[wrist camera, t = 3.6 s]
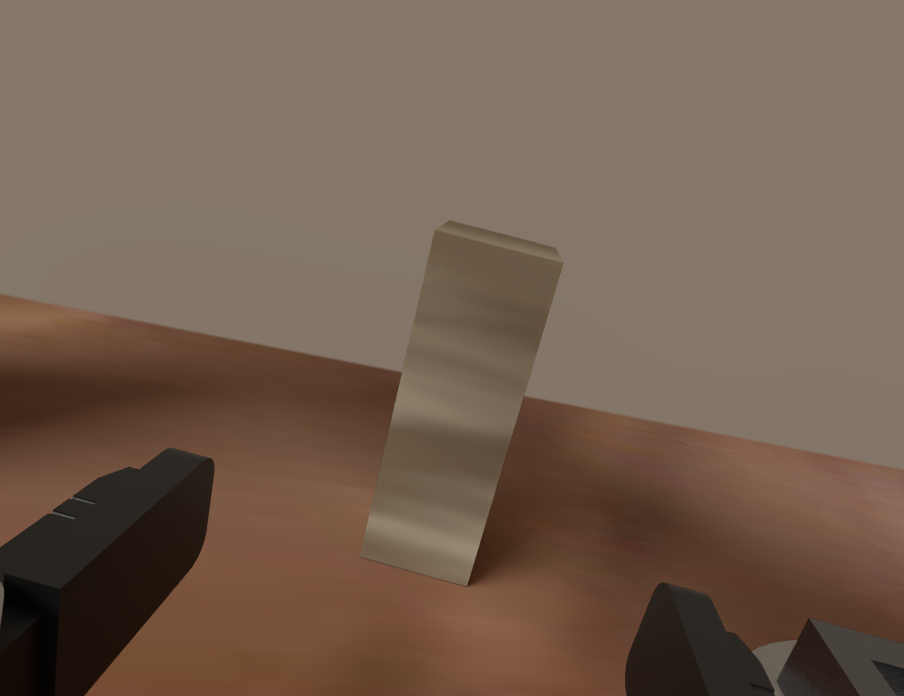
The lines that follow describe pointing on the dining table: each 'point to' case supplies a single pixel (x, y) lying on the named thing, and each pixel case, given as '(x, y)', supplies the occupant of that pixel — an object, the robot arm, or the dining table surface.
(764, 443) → the dining table surface
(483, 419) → the beige rectangular block
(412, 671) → the dining table surface
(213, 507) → the dining table surface
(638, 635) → the robot arm
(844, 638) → the rosette plate
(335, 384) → the dining table surface
